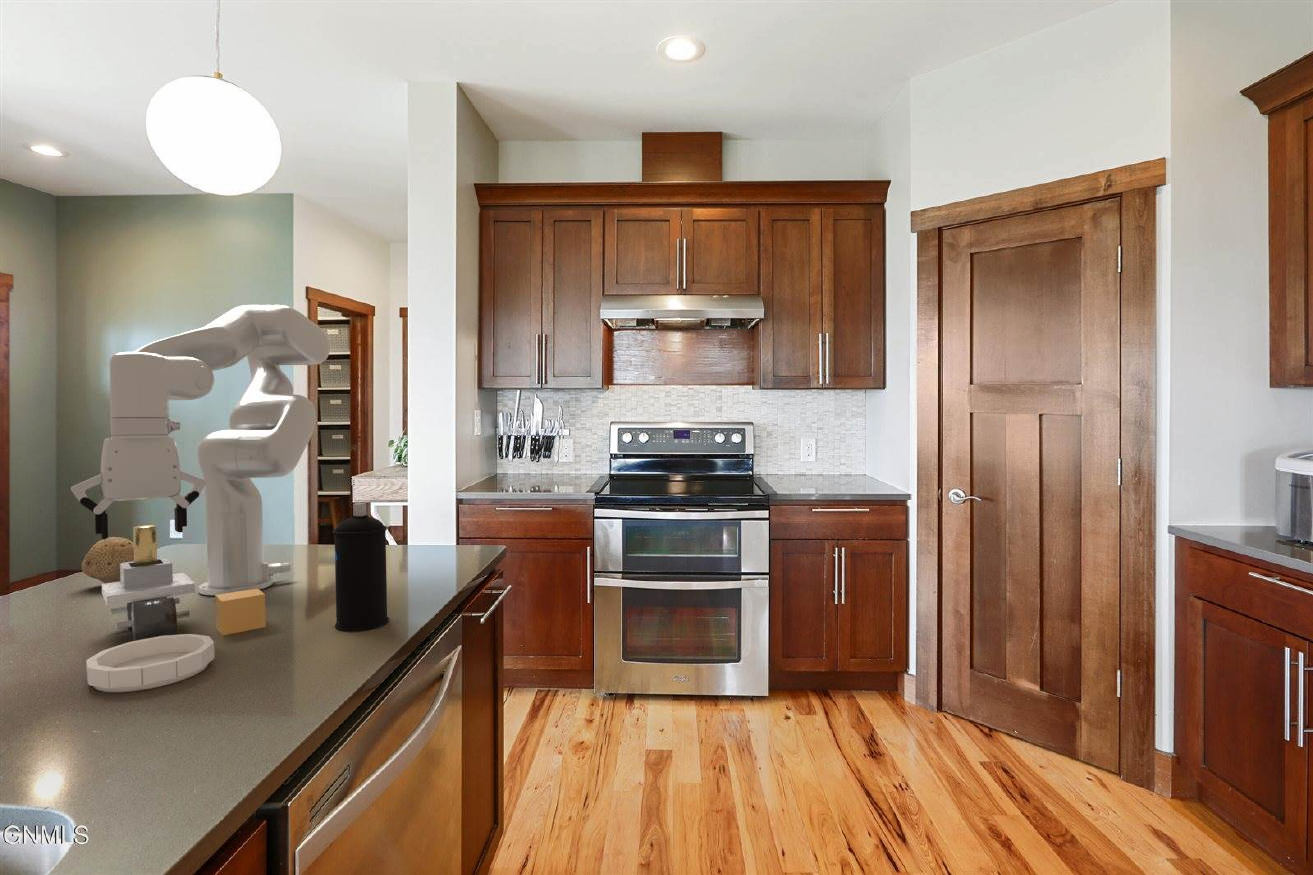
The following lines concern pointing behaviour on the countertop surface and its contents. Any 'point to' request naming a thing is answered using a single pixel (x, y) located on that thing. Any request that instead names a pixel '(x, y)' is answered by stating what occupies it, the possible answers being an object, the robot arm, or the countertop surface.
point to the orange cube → (240, 611)
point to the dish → (149, 662)
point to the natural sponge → (108, 559)
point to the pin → (145, 545)
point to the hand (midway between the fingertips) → (142, 534)
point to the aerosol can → (360, 572)
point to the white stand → (148, 598)
